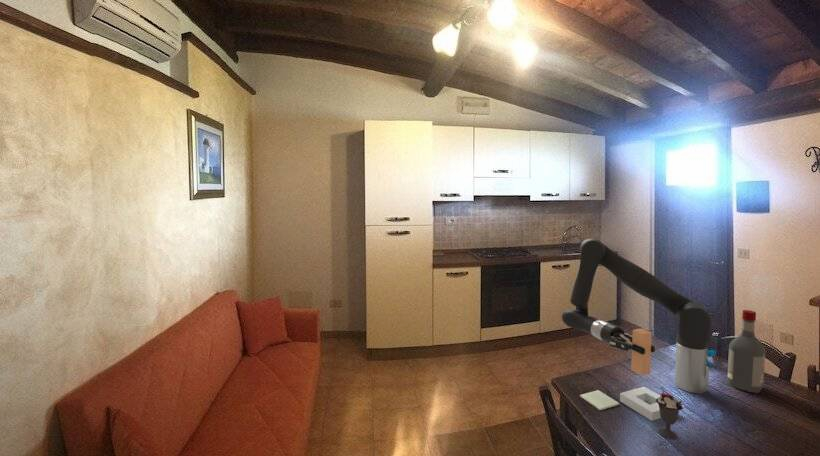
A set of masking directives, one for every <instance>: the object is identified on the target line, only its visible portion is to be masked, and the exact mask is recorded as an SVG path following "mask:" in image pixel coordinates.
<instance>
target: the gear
mask: <svg viewBox="0 0 820 456" xmlns="http://www.w3.org/2000/svg"><path fill="white" fill-rule="evenodd" d="M717 353H718V352H717V350H715V349H711V350H710V349H707V363H706V366H708V367H712V364H711V363H710V361H709V359H708V358H711V357H713V356H716V355H717Z"/></svg>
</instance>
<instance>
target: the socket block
mask: <svg viewBox="0 0 820 456" xmlns="http://www.w3.org/2000/svg"><path fill="white" fill-rule="evenodd" d="M660 396H661V394H658V393H657V392H655V391H653V390H651V389H649V388H647V387H646V386H641V387H638V388H633V389H631V390H627V391H623V392H620V393H619V402H621V403H622V404H623V405H626V406H627V407H629V408H630V409H632V410H634V411H636V412H637V413H638V414H640V415H642V416H643V417H645V418H646V419H648V420H650V421H651V422H653V421H656V420H658V419H661V417H660V410H659V404H658V403H657V402H656V399H657V398H659V397H660Z"/></svg>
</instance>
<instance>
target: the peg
mask: <svg viewBox="0 0 820 456" xmlns="http://www.w3.org/2000/svg"><path fill="white" fill-rule="evenodd" d="M631 336H632V343H633V344H636V345H638V346H640V347H643V348H645V354H644V355H642V354H640V353H638V352H636V351H631V363H630V365H631V366H630V371H632V372H634V373H636V374H638V375H640V376H646V375H649V374H651V363H652V361H651V360H652V359H651V358H652V352H651V345H652V339H653V338H652V337H653V332H652V331H649V330H647V329H644V328H642V327H640V328H635V329H632V335H631Z"/></svg>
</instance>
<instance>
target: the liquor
mask: <svg viewBox="0 0 820 456" xmlns="http://www.w3.org/2000/svg"><path fill="white" fill-rule="evenodd" d="M756 316H757V312H756V311H754V310H751V309H750V310H749V309H742V317H741V318H742V327H741V333H740V335H738V336H736V337H735V338H733V339H732V340H731V341H730V342H729V345H728V359H727V360H728V361H727V362H728V363H727V376H726V377H727V378H726V382H727V383H728V385H730V386H731V387H732V386H733V387H732V388H734V387H735V388H734V389H737V388H738V389H737V390H740V389H742V390H741V391H743V390H745V391H744V392H746V391H748V392H747V393H749V392H755V393H754V394H759V393H760V392H761V391H762V389H763V387H764V378H765V364H766V363H765V362H766V347H765V345H764V344H763V343H762V342H761V341H760V340H759V339H758V338H757V337H756V334H755V321H756V320H757V317H756Z"/></svg>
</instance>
